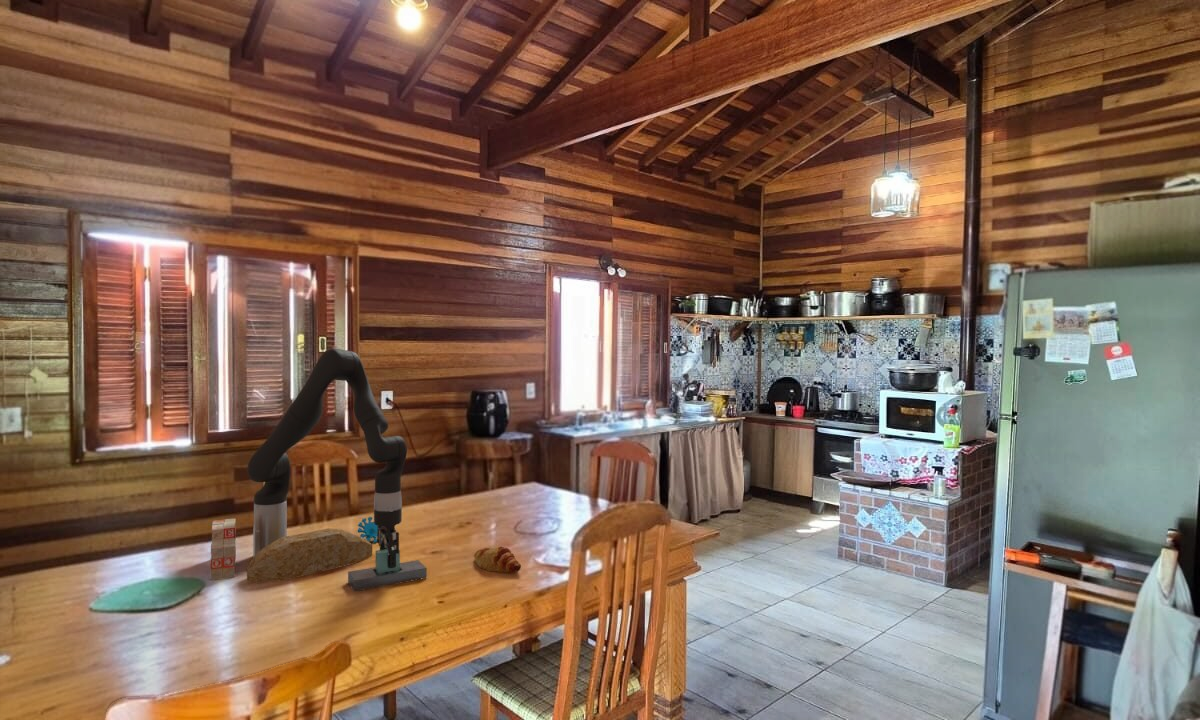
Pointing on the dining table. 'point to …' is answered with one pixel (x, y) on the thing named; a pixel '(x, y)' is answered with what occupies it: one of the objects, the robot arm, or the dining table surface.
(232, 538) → the stack of blocks
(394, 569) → the teal block
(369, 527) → the gear
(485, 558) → the croissant
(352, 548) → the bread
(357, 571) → the rail
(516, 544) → the dining table surface
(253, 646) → the dining table surface
